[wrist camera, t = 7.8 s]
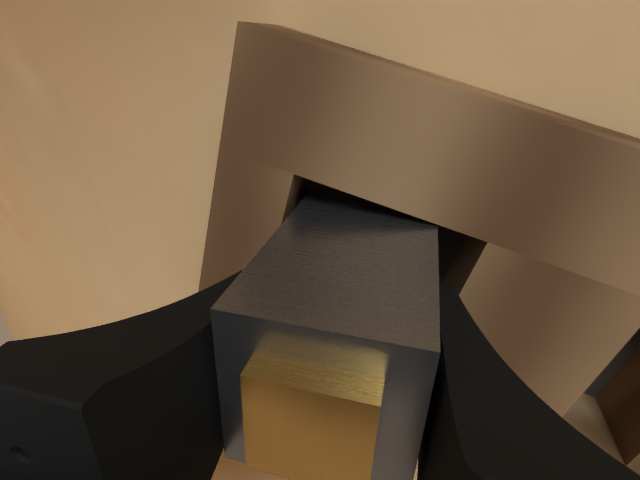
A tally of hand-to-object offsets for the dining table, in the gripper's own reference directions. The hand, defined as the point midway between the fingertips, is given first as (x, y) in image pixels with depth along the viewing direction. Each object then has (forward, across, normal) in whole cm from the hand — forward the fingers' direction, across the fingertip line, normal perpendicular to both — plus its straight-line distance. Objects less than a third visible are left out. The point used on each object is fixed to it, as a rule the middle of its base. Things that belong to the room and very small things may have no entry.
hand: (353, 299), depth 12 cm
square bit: (+3, 0, 0) cm, 3 cm away
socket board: (+4, -3, +1) cm, 5 cm away
